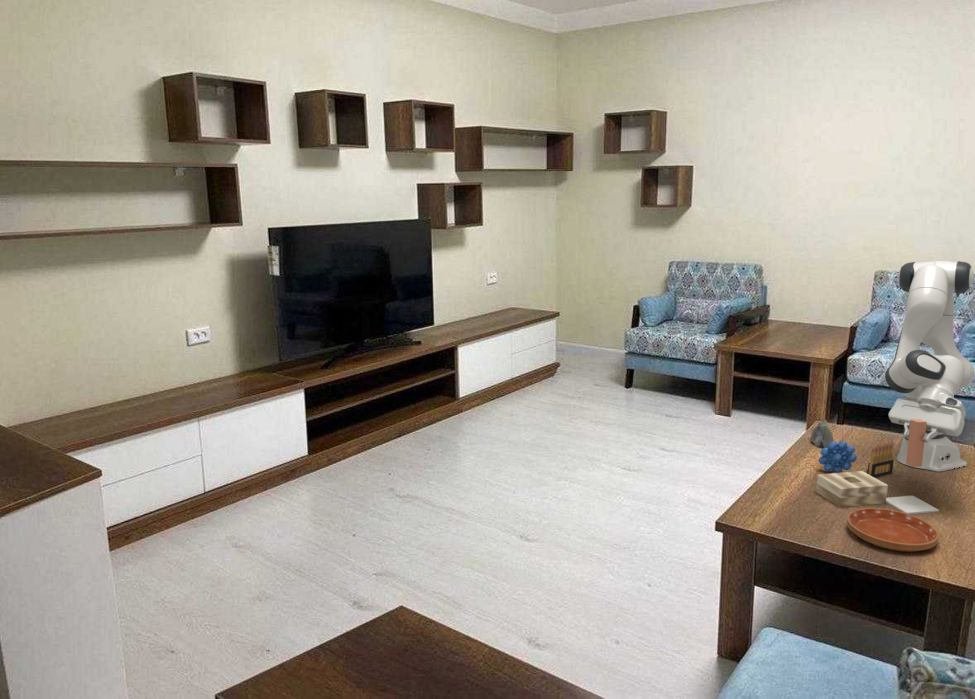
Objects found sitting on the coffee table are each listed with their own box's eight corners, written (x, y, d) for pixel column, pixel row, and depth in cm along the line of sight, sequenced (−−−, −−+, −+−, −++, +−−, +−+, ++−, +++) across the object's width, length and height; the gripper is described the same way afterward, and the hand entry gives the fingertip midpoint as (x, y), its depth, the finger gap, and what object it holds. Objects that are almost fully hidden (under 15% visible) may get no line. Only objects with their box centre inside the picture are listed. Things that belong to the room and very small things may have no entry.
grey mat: (912, 497, 241) (912, 495, 241) (938, 511, 230) (938, 509, 230) (881, 499, 239) (881, 498, 239) (906, 514, 228) (906, 512, 228)
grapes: (855, 472, 262) (858, 438, 259) (854, 478, 256) (858, 444, 253) (818, 466, 267) (821, 433, 264) (817, 472, 261) (820, 439, 258)
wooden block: (914, 463, 233) (919, 419, 230) (921, 466, 230) (926, 421, 227) (905, 463, 232) (910, 419, 230) (912, 466, 230) (917, 422, 227)
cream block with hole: (861, 488, 248) (863, 470, 247) (887, 503, 236) (889, 485, 235) (816, 492, 245) (817, 474, 243) (839, 507, 233) (841, 489, 232)
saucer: (945, 535, 215) (947, 523, 215) (925, 564, 199) (927, 551, 198) (860, 512, 230) (861, 501, 229) (834, 538, 214) (836, 526, 213)
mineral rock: (814, 436, 299) (817, 411, 297) (843, 442, 292) (845, 417, 289) (802, 444, 289) (804, 419, 287) (831, 451, 282) (833, 425, 280)
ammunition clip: (871, 478, 256) (875, 445, 253) (866, 476, 257) (870, 443, 255) (892, 473, 260) (896, 440, 258) (887, 471, 262) (891, 438, 259)
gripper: (896, 390, 240) (878, 425, 236) (967, 403, 224) (949, 441, 220) (901, 401, 243) (883, 436, 239) (972, 415, 227) (954, 453, 223)
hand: (915, 439), depth 229 cm, fingers closed on wooden block, 4 cm apart
